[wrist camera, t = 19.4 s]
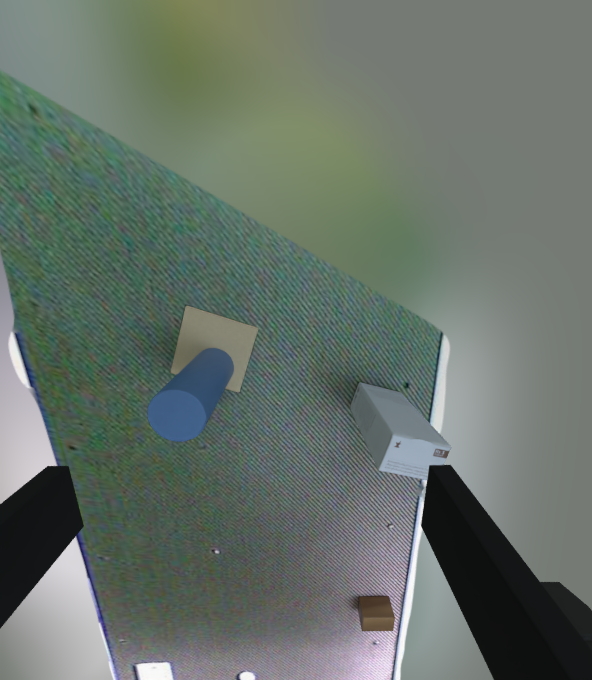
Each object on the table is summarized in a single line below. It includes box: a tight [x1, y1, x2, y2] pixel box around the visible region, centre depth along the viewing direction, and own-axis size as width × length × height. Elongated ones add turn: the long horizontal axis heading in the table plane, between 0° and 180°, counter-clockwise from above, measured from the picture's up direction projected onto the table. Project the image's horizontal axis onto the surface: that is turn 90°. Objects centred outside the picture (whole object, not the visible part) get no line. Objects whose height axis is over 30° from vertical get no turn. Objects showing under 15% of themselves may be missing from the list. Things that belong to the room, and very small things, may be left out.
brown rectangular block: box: [358, 596, 395, 631], centre depth 46 cm, size 3×5×3 cm, turn 90°
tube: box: [147, 348, 234, 442], centre depth 30 cm, size 12×5×5 cm
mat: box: [171, 306, 259, 393], centre depth 35 cm, size 9×9×1 cm
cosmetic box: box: [350, 382, 451, 480], centre depth 32 cm, size 6×4×12 cm
